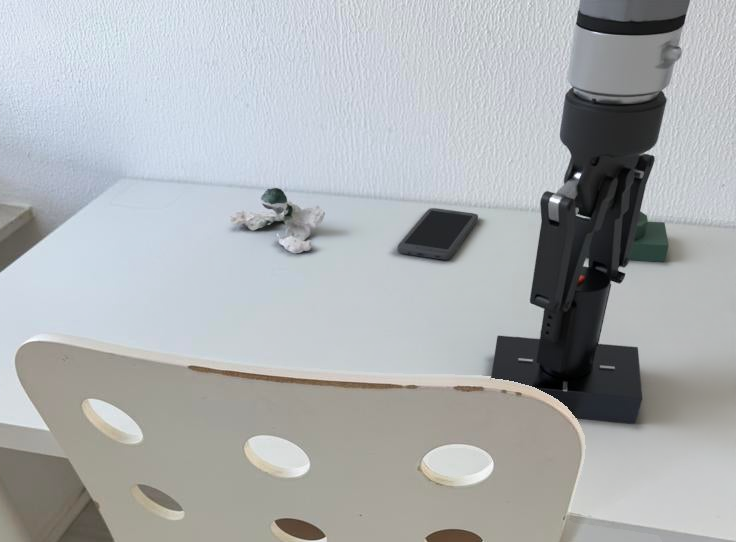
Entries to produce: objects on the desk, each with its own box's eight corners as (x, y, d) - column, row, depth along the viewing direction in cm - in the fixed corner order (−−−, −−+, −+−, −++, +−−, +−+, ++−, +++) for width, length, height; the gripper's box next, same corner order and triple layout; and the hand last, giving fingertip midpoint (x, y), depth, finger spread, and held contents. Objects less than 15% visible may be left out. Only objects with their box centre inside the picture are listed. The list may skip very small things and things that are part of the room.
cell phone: (395, 252, 101) (395, 247, 100) (429, 212, 110) (429, 206, 109) (449, 261, 98) (449, 255, 98) (479, 218, 107) (479, 213, 107)
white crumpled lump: (345, 222, 105) (319, 186, 98) (318, 274, 105) (291, 242, 98) (264, 200, 112) (235, 166, 105) (239, 249, 112) (208, 218, 105)
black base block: (631, 371, 79) (638, 344, 77) (635, 424, 73) (643, 397, 71) (494, 359, 82) (497, 333, 79) (486, 409, 75) (489, 382, 73)
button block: (660, 238, 101) (668, 208, 99) (664, 262, 96) (672, 231, 94) (567, 233, 104) (572, 203, 101) (566, 255, 99) (571, 225, 96)
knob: (558, 345, 78) (573, 257, 71) (602, 363, 75) (622, 274, 69) (529, 365, 75) (542, 276, 69) (573, 384, 73) (591, 294, 66)
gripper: (594, 129, 52) (545, 410, 68) (720, 71, 61) (650, 331, 77) (504, 108, 56) (478, 378, 72) (634, 56, 65) (585, 306, 81)
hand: (567, 353), depth 74 cm, fingers closed on knob, 5 cm apart
